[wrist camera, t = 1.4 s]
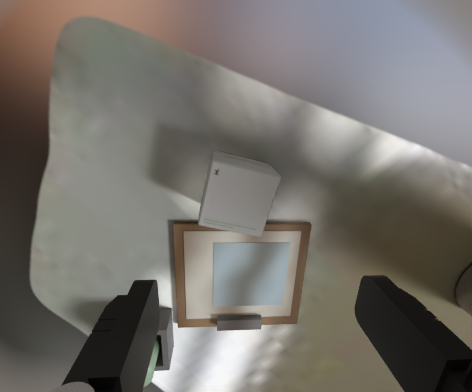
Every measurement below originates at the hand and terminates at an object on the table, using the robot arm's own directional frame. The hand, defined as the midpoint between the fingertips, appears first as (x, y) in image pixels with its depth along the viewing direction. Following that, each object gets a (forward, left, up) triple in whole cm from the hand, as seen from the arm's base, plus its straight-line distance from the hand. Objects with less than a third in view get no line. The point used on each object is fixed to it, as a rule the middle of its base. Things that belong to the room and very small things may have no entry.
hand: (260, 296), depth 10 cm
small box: (0, 0, -16) cm, 16 cm away
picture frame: (-1, +10, -15) cm, 19 cm away
